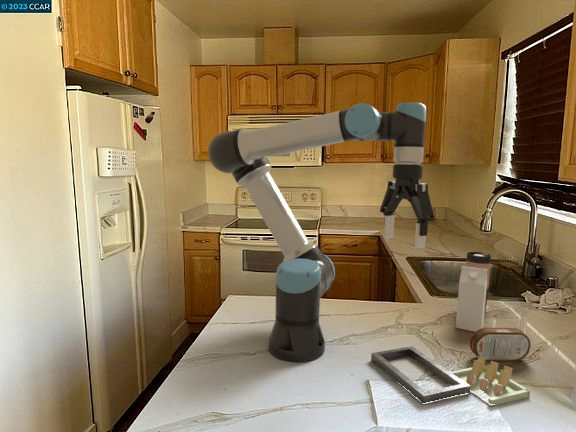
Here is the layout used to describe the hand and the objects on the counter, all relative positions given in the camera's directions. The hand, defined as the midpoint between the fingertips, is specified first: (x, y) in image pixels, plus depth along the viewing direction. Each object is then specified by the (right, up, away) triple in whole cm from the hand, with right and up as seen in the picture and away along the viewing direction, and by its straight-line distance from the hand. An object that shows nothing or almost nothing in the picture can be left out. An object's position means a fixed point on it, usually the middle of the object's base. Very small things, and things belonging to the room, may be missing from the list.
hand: (403, 243), depth 108 cm
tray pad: (+14, -32, -17) cm, 39 cm away
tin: (+24, -30, -4) cm, 39 cm away
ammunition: (+14, -31, -17) cm, 39 cm away
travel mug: (+34, -26, +31) cm, 53 cm away
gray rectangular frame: (-1, -31, -13) cm, 33 cm away
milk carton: (+25, -28, +17) cm, 41 cm away
